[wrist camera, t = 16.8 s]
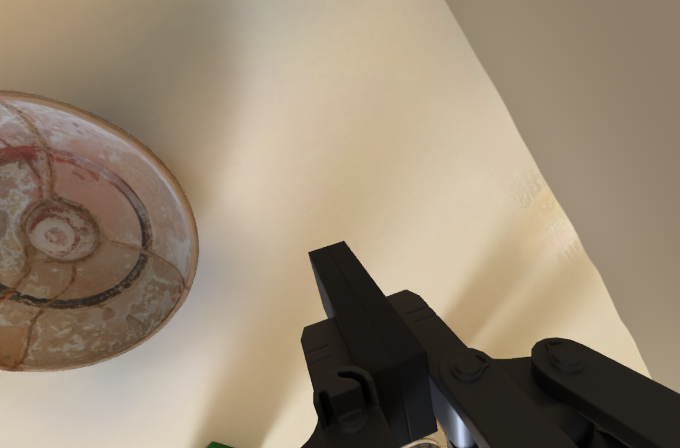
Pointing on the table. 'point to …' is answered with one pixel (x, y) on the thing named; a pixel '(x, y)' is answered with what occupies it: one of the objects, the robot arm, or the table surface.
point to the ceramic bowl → (84, 238)
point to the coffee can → (423, 444)
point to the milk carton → (217, 445)
